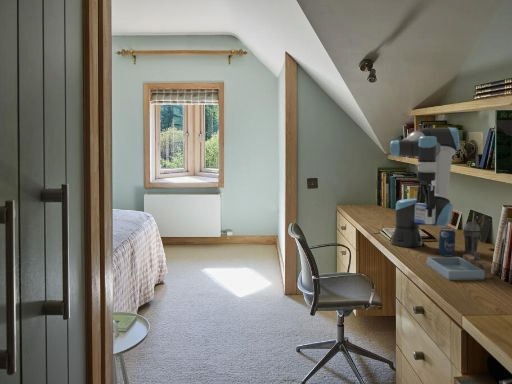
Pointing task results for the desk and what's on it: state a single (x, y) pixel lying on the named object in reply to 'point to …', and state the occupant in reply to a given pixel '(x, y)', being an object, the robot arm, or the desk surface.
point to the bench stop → (479, 263)
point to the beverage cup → (471, 237)
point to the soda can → (447, 242)
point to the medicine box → (422, 213)
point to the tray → (455, 268)
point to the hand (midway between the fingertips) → (424, 222)
